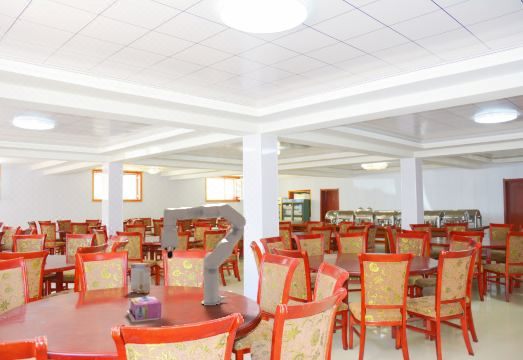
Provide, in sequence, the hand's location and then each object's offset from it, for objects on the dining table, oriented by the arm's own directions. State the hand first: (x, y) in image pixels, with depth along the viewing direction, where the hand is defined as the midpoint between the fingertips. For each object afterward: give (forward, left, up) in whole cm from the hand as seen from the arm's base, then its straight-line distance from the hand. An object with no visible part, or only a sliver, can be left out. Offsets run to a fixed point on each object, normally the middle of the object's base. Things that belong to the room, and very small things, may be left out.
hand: (169, 258), depth 258 cm
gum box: (+10, +17, -24) cm, 32 cm away
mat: (+18, +17, -29) cm, 38 cm away
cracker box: (+10, -54, -29) cm, 62 cm away
